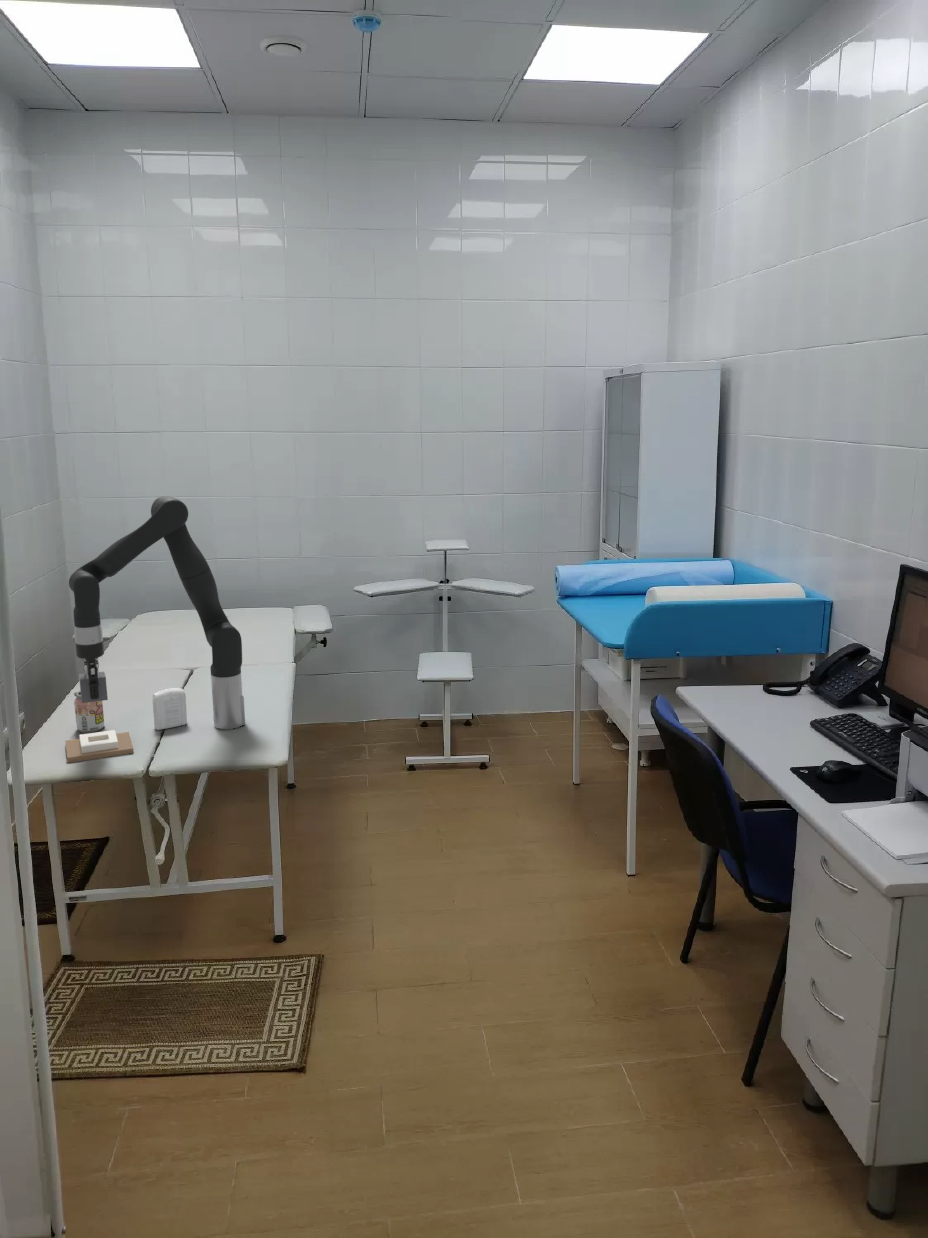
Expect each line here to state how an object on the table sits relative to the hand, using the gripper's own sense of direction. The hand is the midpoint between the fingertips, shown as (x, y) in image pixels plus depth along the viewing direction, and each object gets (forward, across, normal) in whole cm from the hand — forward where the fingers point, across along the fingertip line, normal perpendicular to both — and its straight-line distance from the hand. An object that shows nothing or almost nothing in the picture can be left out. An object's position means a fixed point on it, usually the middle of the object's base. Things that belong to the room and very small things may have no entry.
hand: (94, 695), depth 276 cm
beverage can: (+17, +19, +1) cm, 26 cm away
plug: (+2, 0, 0) cm, 2 cm away
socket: (+17, 0, 0) cm, 17 cm away
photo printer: (+17, +11, -22) cm, 30 cm away
